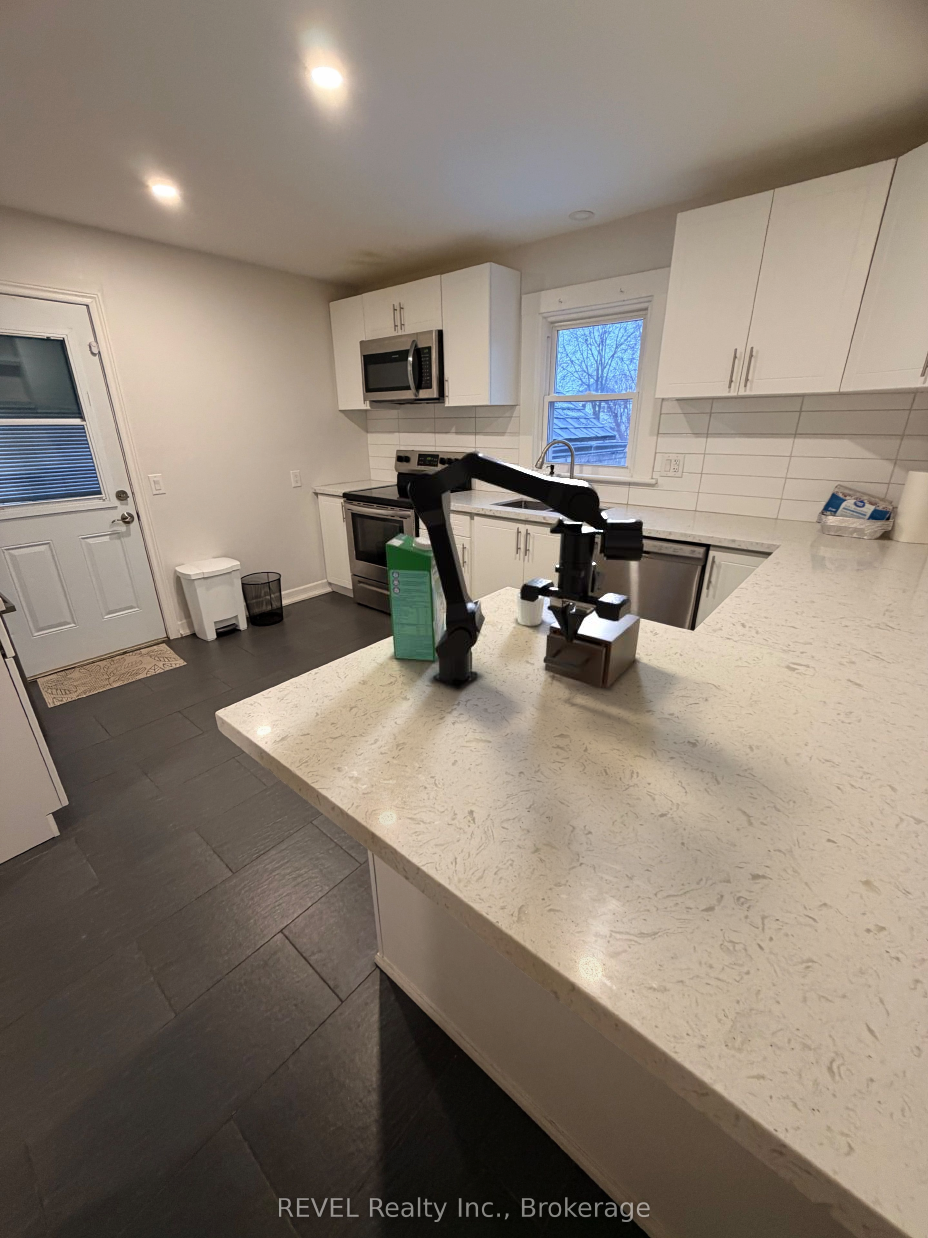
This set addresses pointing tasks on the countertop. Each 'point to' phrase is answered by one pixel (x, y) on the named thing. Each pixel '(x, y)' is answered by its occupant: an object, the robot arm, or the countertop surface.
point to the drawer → (576, 658)
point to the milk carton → (414, 598)
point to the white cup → (530, 611)
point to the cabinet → (611, 641)
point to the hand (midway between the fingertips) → (569, 642)
